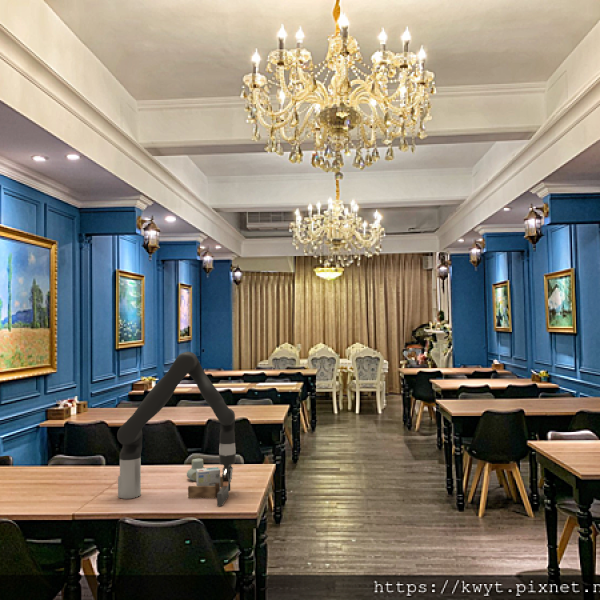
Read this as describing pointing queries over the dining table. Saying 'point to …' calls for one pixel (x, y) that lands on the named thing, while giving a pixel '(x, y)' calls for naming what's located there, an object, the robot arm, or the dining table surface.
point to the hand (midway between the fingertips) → (227, 491)
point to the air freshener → (194, 468)
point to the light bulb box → (208, 476)
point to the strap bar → (223, 494)
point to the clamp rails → (204, 490)
